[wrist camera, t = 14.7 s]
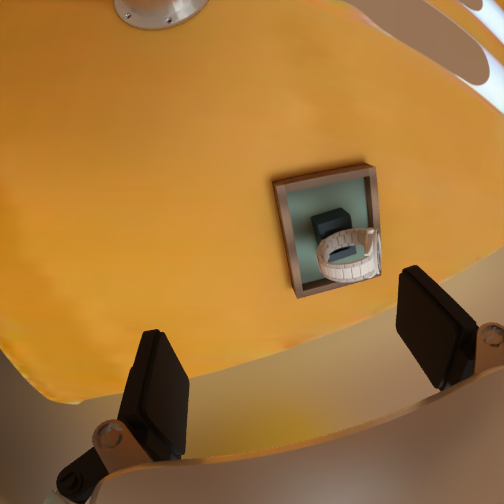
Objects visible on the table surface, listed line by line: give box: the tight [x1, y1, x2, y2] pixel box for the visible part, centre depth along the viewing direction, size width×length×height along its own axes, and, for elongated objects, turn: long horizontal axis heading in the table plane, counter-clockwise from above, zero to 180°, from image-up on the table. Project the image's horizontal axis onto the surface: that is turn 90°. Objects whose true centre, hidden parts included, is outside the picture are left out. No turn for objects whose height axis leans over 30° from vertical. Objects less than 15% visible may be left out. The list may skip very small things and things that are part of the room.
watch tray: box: [272, 164, 381, 299], centre depth 39 cm, size 16×13×3 cm
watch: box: [311, 207, 381, 282], centre depth 34 cm, size 6×8×11 cm
